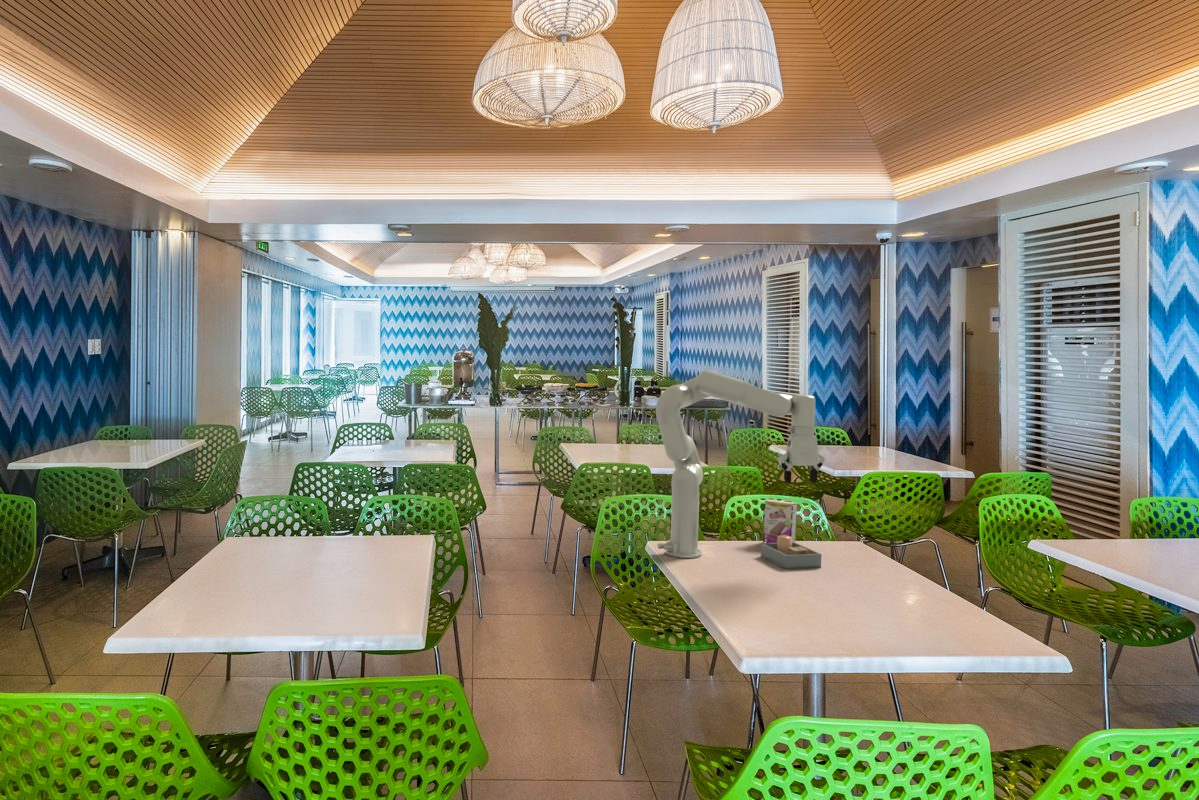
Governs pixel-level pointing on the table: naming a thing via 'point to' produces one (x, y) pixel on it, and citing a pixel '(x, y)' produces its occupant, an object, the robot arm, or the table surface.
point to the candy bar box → (779, 520)
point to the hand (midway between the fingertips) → (800, 482)
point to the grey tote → (791, 557)
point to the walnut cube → (796, 551)
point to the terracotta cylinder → (784, 543)
